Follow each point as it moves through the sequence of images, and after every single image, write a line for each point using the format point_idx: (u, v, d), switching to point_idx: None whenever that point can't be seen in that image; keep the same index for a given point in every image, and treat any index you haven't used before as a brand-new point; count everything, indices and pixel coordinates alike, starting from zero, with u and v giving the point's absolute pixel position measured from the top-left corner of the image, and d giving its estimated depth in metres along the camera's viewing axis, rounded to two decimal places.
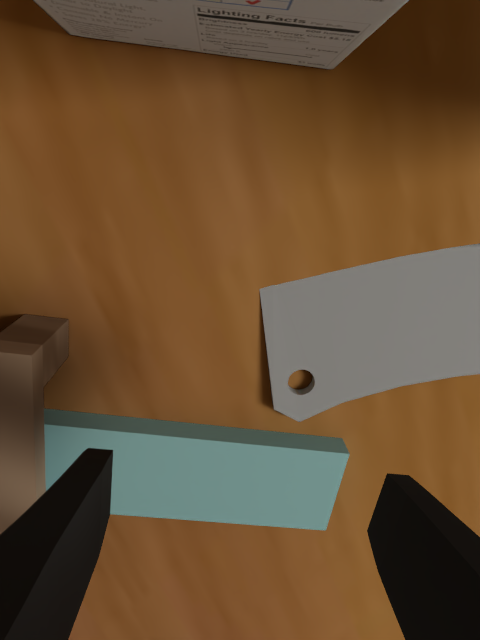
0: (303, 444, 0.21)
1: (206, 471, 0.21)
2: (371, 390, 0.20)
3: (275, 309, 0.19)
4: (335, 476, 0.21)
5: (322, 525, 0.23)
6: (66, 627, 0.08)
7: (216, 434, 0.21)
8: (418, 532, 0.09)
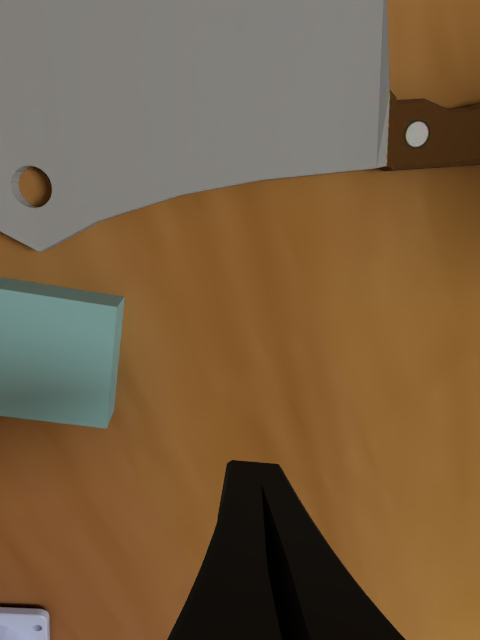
0: (54, 293, 0.15)
1: None
2: (137, 201, 0.14)
3: None
4: (103, 343, 0.15)
5: (100, 420, 0.16)
6: None
7: None
8: (263, 521, 0.08)
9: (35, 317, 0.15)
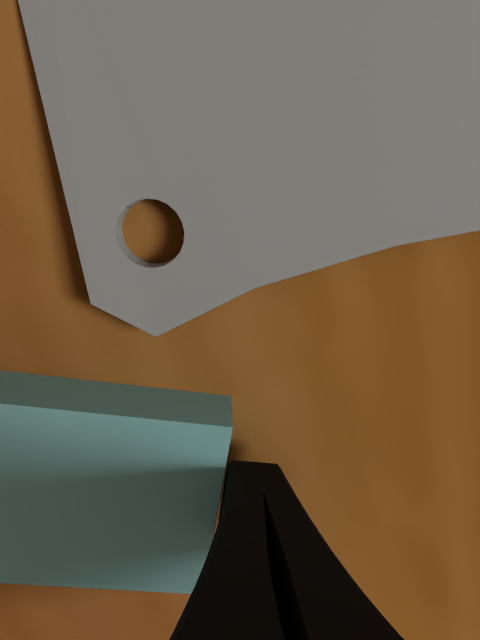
0: (128, 405, 0.09)
1: None
2: (323, 256, 0.08)
3: (58, 17, 0.07)
4: (207, 480, 0.09)
5: (193, 584, 0.11)
6: None
7: None
8: None
9: (100, 447, 0.09)
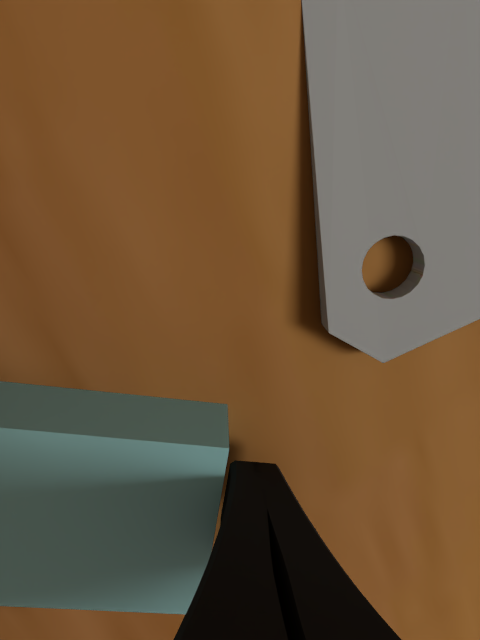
0: (121, 425, 0.09)
1: None
2: None
3: (340, 70, 0.08)
4: (203, 501, 0.09)
5: None
6: None
7: None
8: None
9: (93, 469, 0.09)
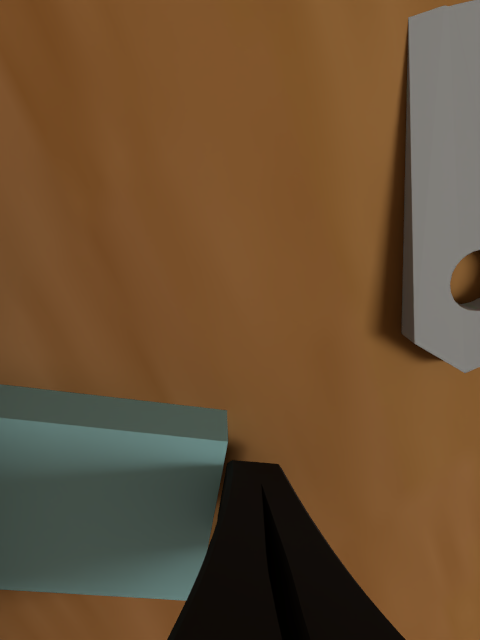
0: (126, 419, 0.09)
1: None
2: None
3: (442, 90, 0.08)
4: (202, 492, 0.10)
5: (189, 591, 0.11)
6: None
7: None
8: (263, 521, 0.08)
9: (98, 460, 0.09)
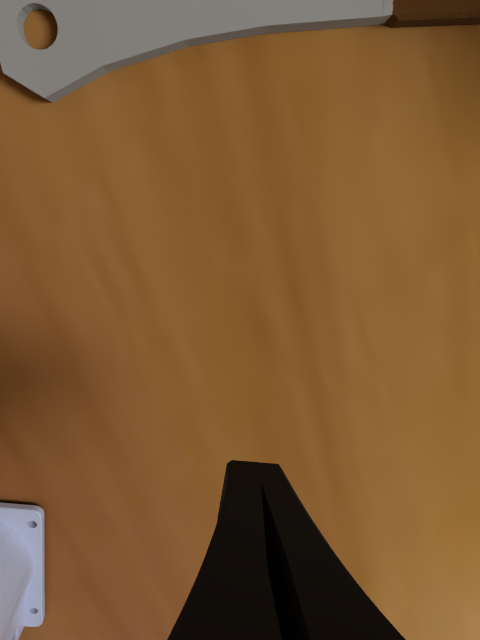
0: None
1: None
2: (142, 45, 0.14)
3: None
4: None
5: None
6: None
7: None
8: (263, 521, 0.08)
9: None
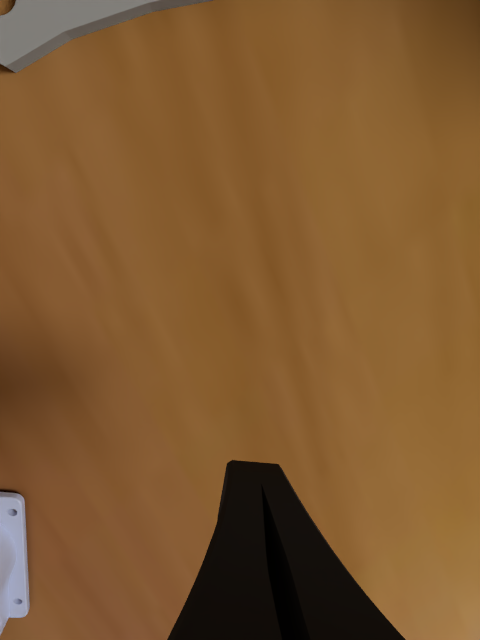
0: None
1: None
2: (104, 9, 0.14)
3: None
4: None
5: None
6: None
7: None
8: (264, 521, 0.08)
9: None
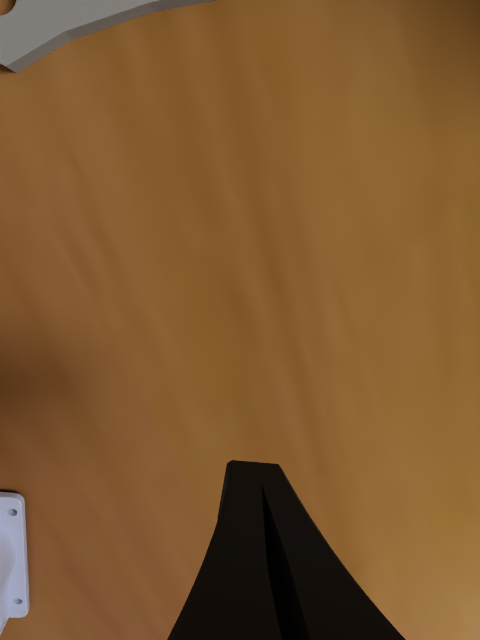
0: None
1: None
2: (105, 9, 0.14)
3: None
4: None
5: None
6: None
7: None
8: (264, 521, 0.08)
9: None
